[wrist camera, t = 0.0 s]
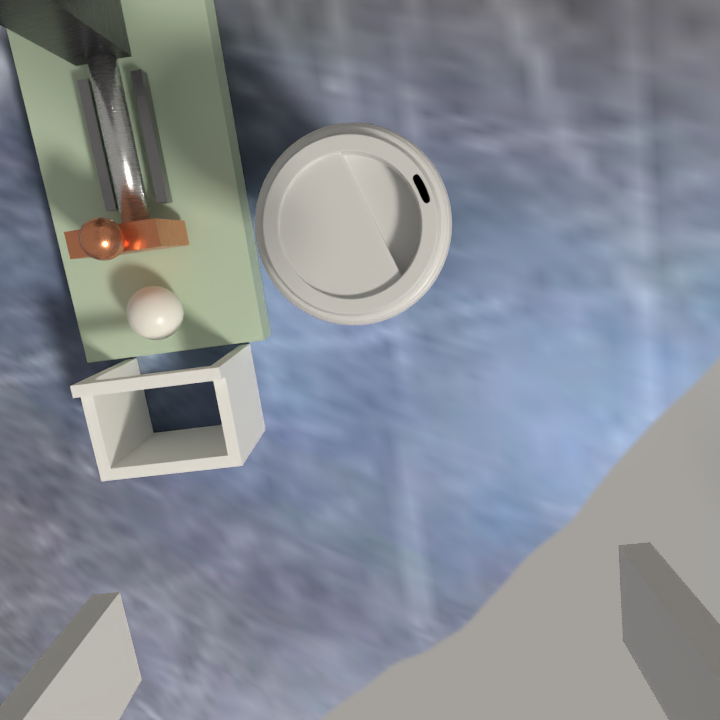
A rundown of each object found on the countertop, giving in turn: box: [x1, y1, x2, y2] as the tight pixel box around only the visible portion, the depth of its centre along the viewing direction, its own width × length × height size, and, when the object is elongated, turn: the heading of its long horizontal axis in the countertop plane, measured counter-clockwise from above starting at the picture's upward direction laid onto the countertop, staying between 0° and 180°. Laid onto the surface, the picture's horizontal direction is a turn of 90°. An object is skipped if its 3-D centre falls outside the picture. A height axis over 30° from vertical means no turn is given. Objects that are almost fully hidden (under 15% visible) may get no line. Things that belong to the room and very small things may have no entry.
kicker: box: [0, 0, 189, 261], centre depth 31 cm, size 16×6×11 cm, turn 8°
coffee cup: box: [255, 123, 452, 325], centre depth 33 cm, size 10×10×15 cm
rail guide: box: [77, 69, 173, 211], centre depth 37 cm, size 8×4×1 cm, turn 8°
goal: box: [70, 344, 265, 481], centre depth 39 cm, size 7×10×8 cm
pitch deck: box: [6, 0, 271, 363], centre depth 39 cm, size 23×13×2 cm, turn 8°
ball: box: [126, 286, 184, 340], centre depth 38 cm, size 4×4×4 cm
